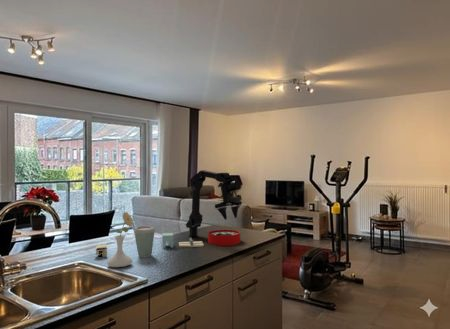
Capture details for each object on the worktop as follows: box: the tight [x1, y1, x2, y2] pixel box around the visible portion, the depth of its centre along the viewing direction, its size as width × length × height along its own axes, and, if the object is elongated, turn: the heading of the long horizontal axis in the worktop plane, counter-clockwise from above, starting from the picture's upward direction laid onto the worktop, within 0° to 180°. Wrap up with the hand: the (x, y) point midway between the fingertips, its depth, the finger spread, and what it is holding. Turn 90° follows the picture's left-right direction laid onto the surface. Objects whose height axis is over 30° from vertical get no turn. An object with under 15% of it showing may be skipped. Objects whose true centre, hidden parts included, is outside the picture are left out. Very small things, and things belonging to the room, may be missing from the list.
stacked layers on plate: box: [94, 244, 109, 258], centre depth 177 cm, size 10×9×6 cm
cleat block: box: [162, 232, 174, 249], centre depth 198 cm, size 7×6×7 cm
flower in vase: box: [106, 211, 135, 268], centre depth 159 cm, size 13×11×25 cm
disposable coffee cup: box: [133, 225, 156, 258], centre depth 176 cm, size 11×11×15 cm
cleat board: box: [178, 237, 205, 249], centre depth 201 cm, size 10×14×4 cm
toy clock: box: [207, 229, 241, 246], centre depth 210 cm, size 20×6×20 cm
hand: (230, 218), depth 202 cm, fingers open, 9 cm apart
